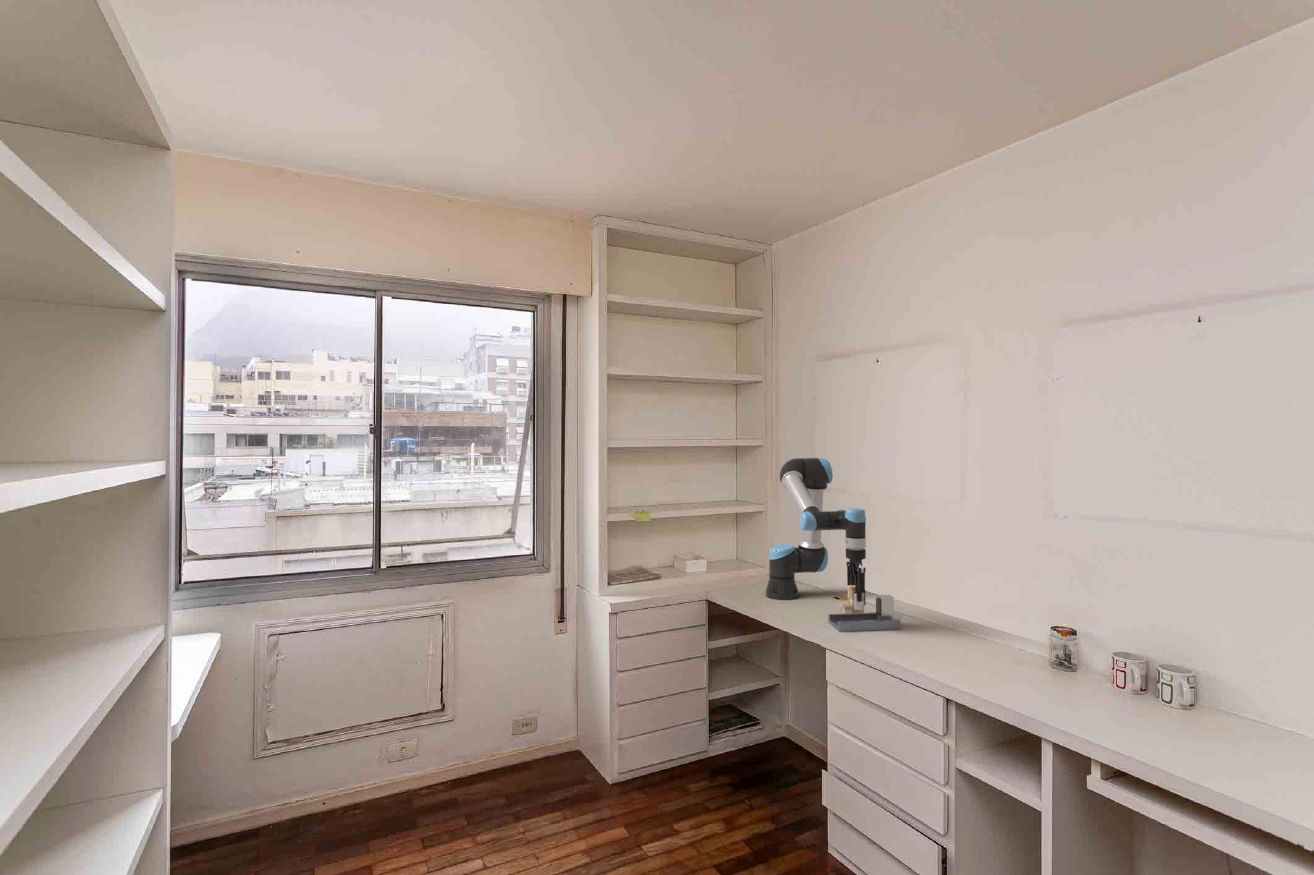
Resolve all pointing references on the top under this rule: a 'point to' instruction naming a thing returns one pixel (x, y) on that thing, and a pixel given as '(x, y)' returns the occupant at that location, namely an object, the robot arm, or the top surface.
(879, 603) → the grey tray with panel
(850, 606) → the wooden stepped block
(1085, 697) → the top surface
